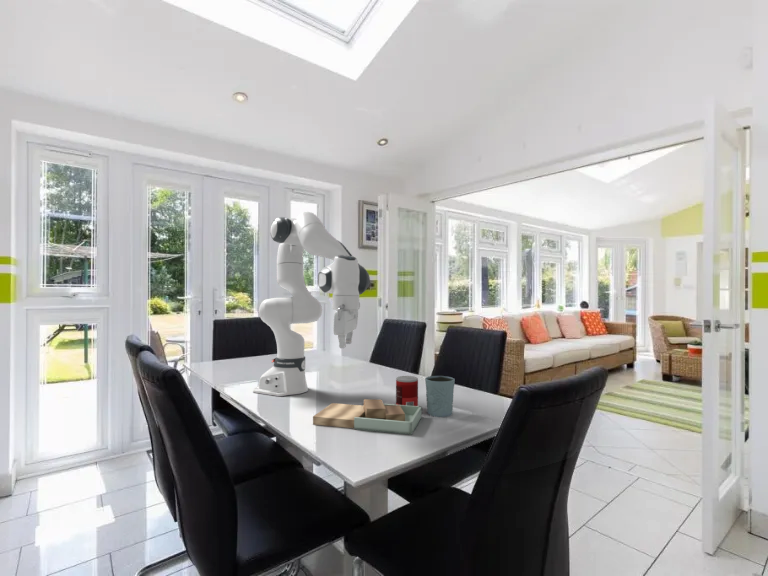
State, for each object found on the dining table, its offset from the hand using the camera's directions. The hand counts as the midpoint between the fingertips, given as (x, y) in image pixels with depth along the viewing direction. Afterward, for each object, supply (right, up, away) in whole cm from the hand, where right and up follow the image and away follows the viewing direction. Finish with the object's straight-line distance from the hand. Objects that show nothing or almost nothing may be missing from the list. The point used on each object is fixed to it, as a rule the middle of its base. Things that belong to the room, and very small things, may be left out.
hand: (345, 345), depth 139 cm
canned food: (+21, -24, +11) cm, 34 cm away
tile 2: (+16, -23, -3) cm, 28 cm away
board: (-1, -24, -1) cm, 24 cm away
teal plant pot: (+32, -24, +6) cm, 41 cm away
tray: (+15, -24, -5) cm, 28 cm away
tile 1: (+9, -22, -2) cm, 24 cm away
